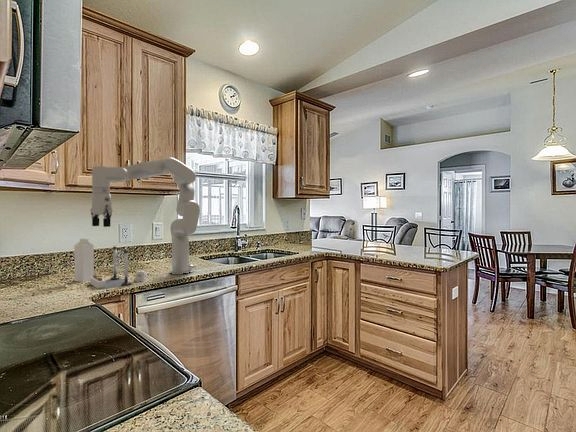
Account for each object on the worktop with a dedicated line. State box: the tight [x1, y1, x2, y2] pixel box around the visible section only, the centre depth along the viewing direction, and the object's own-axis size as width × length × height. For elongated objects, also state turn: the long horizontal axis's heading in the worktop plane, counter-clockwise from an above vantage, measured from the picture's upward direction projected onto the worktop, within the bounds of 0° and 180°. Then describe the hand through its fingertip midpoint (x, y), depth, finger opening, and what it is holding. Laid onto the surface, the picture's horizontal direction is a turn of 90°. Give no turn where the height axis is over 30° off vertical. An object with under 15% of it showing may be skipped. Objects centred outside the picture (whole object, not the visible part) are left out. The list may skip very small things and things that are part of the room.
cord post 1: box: [110, 245, 120, 280], centre depth 167 cm, size 4×4×17 cm
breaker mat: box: [87, 274, 134, 291], centre depth 158 cm, size 15×21×5 cm
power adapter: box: [135, 269, 148, 283], centre depth 168 cm, size 11×5×6 cm, turn 16°
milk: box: [73, 238, 95, 283], centre depth 165 cm, size 6×6×22 cm
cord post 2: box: [121, 249, 132, 287], centre depth 155 cm, size 4×4×17 cm
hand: (101, 226), depth 161 cm, fingers open, 9 cm apart
